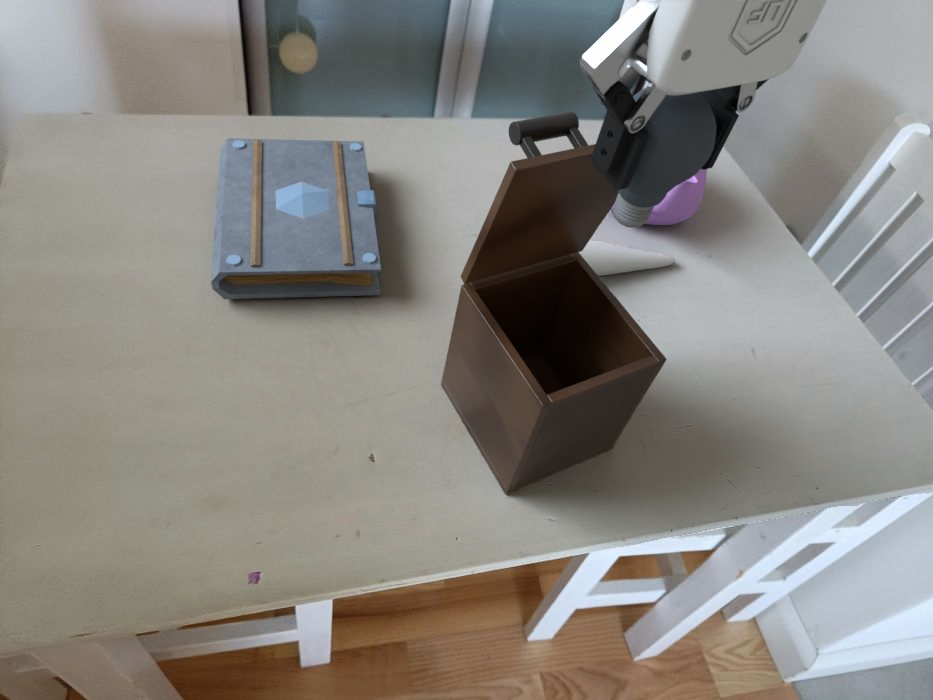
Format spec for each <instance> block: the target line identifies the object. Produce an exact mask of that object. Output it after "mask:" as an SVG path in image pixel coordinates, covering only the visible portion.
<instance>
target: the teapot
mask: <svg viewBox="0 0 933 700" xmlns="http://www.w3.org/2000/svg"><path fill="white" fill-rule="evenodd" d="M707 176H708V169H705V170H703V169H700V170H699V171H698V172H697V173H696V174H695V175H694V176H693V177H692V178H690V179H688V180H686V181H684V182H683V183H681V184H679V185H677V186H675V187H674V188H673V189H672V190H670V191H669V192H668V193H667V195H666V197H665V198H664V199H663V200H662V202H660V203H659V204H658V205H656V206H654V208H653V210H652V212H651V214H650V215H649V218H648V220H647V221H646V222H645V223H644V224H645V225H653V226H672V225H677V224H680V223H681V222H684V221H685V220H688V219H689V218H691V217H693V215H694V214H695V213H696V212H697V211H698V209H699V207H700V205H701V202H702V199H703V196H704V192H705V188H706V185H707ZM614 204H615V203H614ZM613 206H614V205H613ZM613 206H612V208H611V209H610V211H611V212H613ZM644 224H643V225H644Z"/></svg>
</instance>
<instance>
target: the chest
mask: <svg viewBox="0 0 933 700" xmlns="http://www.w3.org/2000/svg"><path fill="white" fill-rule="evenodd" d="M609 288H610V287H608V286H607V285H606V283H605V282H604V281H603V280H602V279H601V277H600V276H598V275H597V274H596V273H595V271H594V270H593V269H592V268H591V267H590V265H589V264H588V263H587V262H586V261H585V259H584V258H583V257H582V256H581V255H580V253H579V252H577V253H574V254H570V255H567V256H563V257H559V258H556V259H552V260H549V261H545V262H542V263H538V264H535V265H531V266H527V267H524V268H520V269H517V270H513V271H510V272H506V273H503V274H499V275H495V276H492V277H488V278H485V279H481V280H478V281H474V282H471V283H467V284H464V283H463V284H461V286H460V291H459V295H458V299H457V304H456V310H455V315H454V319H453V325H452V328H451V334H450V339H449V344H448V349H447V354H446V358H445V363H444V367H443V368H444V369H443V373H442V378H441V380H440V381H441V382H440V386H441V388H442V390H443V391H444V393H445V395H446V396H447V398H448V399H449V401H450V403H451V405H452V407H453V408H454V409H455V412H456V413H457V414H458V417H459V418H460V420H461V422H462V423H463V426H464V427H465V428H466V430H467V432H468V433H469V436H470V437H471V439H472V440H473V442H474V444H475V446H476V447H477V449H478V450H479V452H480V454H481V456H482V457H483V459H484V461H485V463H486V464H487V466H488V468H489V469H490V471H491V473H492V474H493V476H494V477H495V480H496V481H497V483H498V484H499V486H500V488H501V490H502V491H503V493H504V495H505V496H508V495H509V494H513V493H514V492H517V491H519V490H522V489H523V488H525V487H528V486H530V485H533V484H535V483H537V482H540V481H542V480H544V479H547V478H549V477H551V476H554V475H555V474H559V473H561V472H563V471H565V470H568V469H570V468H573V467H575V466H577V465H579V464H581V463H583V462H586V461H588V460H591V459H593V458H596V457H597V456H600V455H602V454H605V453H606V452H608V451H609V452H610V451H611V450H612V449H613V448H614V447H615V444H616V443H617V441H618V440H619V438H620V437H621V435H622V434H623V431H624V430H625V428H626V427H627V425H628V424H629V421H630V420H631V418H632V417H633V415H634V414H635V412H636V410H637V409H638V407H639V405H640V404H641V403H642V400H643V399H644V397H645V395H646V394H647V393H648V391H649V389H650V387H651V386H652V385H653V382H654V380H656V377H657V376H658V374H659V373H660V371H661V370H662V368H663V366H664V365H665V363H666V361H667V358H666V356H665V355H664V354H663V353H662V352H661V350H660V349H659V348H658V346H657V345H656V344H655V343H654V342H653V341H652V339H651V338H650V337H649V336H648V334H646V331H644V329H643V328H642V327H641V326H640V324H639V323H637V320H635V319H634V317H633V316H632V315H631V313H629V311H628V310H627V309H626V308H625V306H624V305H623V304H622V303H621V302H620V300H619V299H618V298H617V296H615V294H614V293H613V292H612V291H611V289H609Z"/></svg>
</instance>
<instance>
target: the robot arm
mask: <svg viewBox="0 0 933 700" xmlns="http://www.w3.org/2000/svg"><path fill="white" fill-rule="evenodd" d="M827 1H828V0H624V1H623V4H622V7H621V11H620V13H619V18H618V20H617V21H616V22H615V23H614V24H613V25H612V26H611V27H610V28H608V30H606V31H605V33H604V34H603V35H602V36H601V37H599V39H598V40H596V42H595V43H593V44H592V45H591V46H590V47H589V48H588V49H587V50H586V51H585V52H584V53H583V54H582V56H581V57H580V59H579V63H578V66H579V68H580V70H581V71H582V73H583V75H584V76H585V78H586V79H587V80H588V82H589V83H590V85H591V86H592V89H593V91H594V92H595V94H596V95H597V97H598V98H599V100H600V104H601V106H602V107H603V108H604V109H606V112H605V115H604V118H603V121H602V123H601V127H600V130H599V133H598V136H597V139H596V141H595V143H594V144H595V147H594V150H593V153H592V156H591V161H592V164H593V165H594V166H595V167H596V168H597V169H598V170H599V171H600V172H601V174H602V175H603V176H604V177H605V178H606V179H607V180H608V181H609V182H610V183H611V184H612V185H613V187H614V188H615V189H617V190H621V189H625V188H627V187H628V185H629V184H630V182H631V179H632V177H633V174H634V172H635V169H636V167H637V165H638V162H639V160H640V157H641V155H642V152H643V150H644V147H645V145H646V143H647V140H648V137H649V133H648V131H647V130H646V129H645V128H644V126H645V125H646V123H647V122H648V120H649V119H650V118H651V116H652V115H653V113H654V112H655V111H656V109H657V108H658V106H659V105H660V104H661V102H662V101H663V99H664V98H665V96H666V95H673V96H676V95H685V94H691V93H697V92H698V93H700V94H701V95H702V96H703V97H704V98H705V99H706V101H707V102H708V103H709V105H710V107H711V109H712V111H713V114H714V117H715V120H716V139H715V145H714V149H713V151H712V154H711V156H710V157H709V159H708V161H707V162H706V163H705V164H704V165H703V167H702V168H701V169H703V170H705V169H707V170H709V169H712V168H713V167H714V165H715V164H716V162H717V159H718V158H719V156H720V154H721V152H722V150H723V148H724V146H725V144H726V142H727V140H728V138H729V136H730V135H731V132H732V130H733V128H734V127H735V125H736V122H737V120H738V119H739V118H740V115H739V114H738V113H743V112H745V111H747V109H749V108H750V107H751V106H752V105H753V103H754V100H755V97H756V91H758V90H759V89H760V88H761V87H762V86H764V84H765V83H767V82H768V81H769V80H771V79H775V78H777V77H780V76H781V75H783V74H785V73H786V72H788V70H790V69H791V68H792V67H793V65H794V63H795V62H796V61H797V59H798V58H799V56H800V53H801V52H802V51H803V48H804V47H805V45H806V43H807V41H808V39H809V37H810V34H811V33H812V31H813V29H814V27H815V25H816V23H817V22H818V19H819V17H820V15H821V13H822V11H823V9H824V7H825V5H826V2H827ZM641 77H642V78H643V79H644V80H645V81H646V82H647V83H648V84H647V85H646V87H644V88H645V90H644V91H643V93H642V94H641V96H640V97H639V99H638V100H637V101H635V99H634V98H633V96H634V95H632V92H631V91H632V89H633V88H634V86H635V85H636V83H637V82H638V80H639V79H640V78H641ZM737 112H738V113H737Z"/></svg>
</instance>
